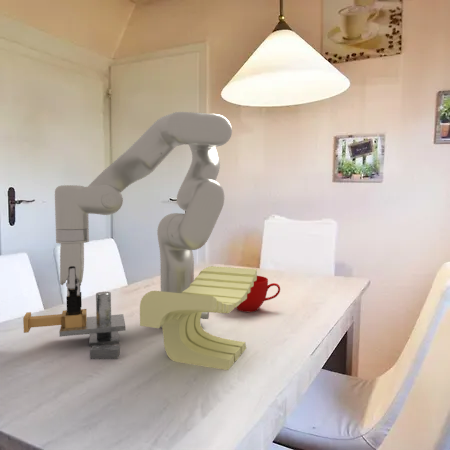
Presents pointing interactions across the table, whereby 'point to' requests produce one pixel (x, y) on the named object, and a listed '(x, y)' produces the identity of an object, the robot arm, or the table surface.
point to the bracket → (55, 320)
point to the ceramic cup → (257, 295)
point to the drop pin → (79, 294)
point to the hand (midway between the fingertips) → (74, 309)
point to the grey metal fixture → (100, 323)
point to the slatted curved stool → (199, 316)
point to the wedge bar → (105, 352)
